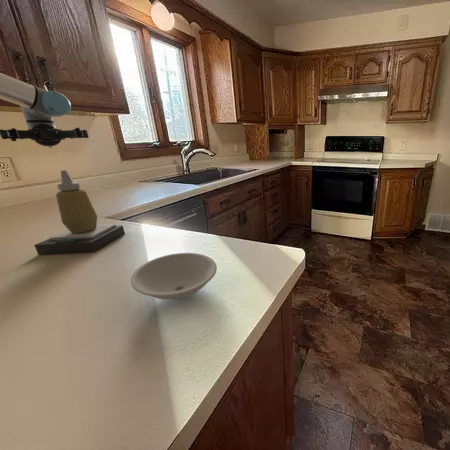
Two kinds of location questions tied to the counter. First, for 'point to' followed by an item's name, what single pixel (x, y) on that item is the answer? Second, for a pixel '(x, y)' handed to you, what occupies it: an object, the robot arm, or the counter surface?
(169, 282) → the dish
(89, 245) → the kitchen scale
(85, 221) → the squeeze bottle
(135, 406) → the counter surface
